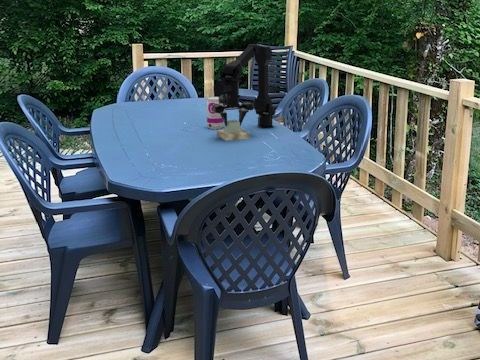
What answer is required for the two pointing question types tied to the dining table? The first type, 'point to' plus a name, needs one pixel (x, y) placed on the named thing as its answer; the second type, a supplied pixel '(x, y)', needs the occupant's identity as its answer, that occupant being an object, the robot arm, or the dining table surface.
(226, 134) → the base slab
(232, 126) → the cube
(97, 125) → the dining table surface
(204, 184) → the dining table surface
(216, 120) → the supplement can
